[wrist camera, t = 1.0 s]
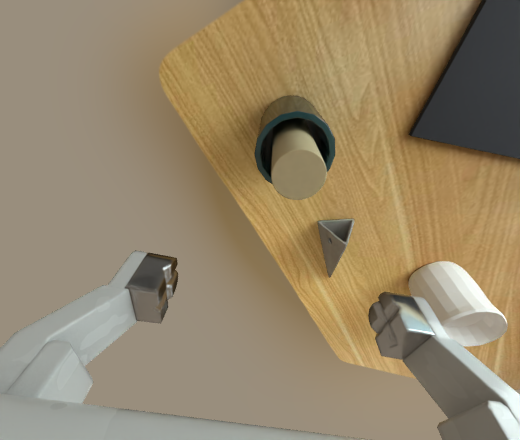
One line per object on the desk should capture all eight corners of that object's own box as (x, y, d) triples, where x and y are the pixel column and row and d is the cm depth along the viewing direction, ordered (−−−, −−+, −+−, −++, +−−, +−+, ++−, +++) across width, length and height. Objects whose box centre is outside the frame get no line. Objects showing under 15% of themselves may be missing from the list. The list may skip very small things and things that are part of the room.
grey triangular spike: (360, 274, 42) (370, 228, 32) (340, 289, 41) (345, 245, 31) (336, 253, 46) (339, 207, 36) (318, 266, 44) (316, 221, 35)
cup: (428, 253, 38) (468, 305, 30) (480, 266, 39) (532, 320, 31) (394, 288, 44) (420, 340, 36) (440, 299, 45) (476, 351, 37)
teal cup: (266, 89, 25) (263, 103, 18) (327, 102, 26) (348, 121, 19) (255, 150, 30) (249, 182, 22) (308, 161, 30) (319, 195, 23)
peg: (276, 107, 26) (278, 144, 16) (311, 114, 26) (335, 155, 16) (269, 142, 28) (266, 195, 18) (301, 149, 29) (316, 204, 18)
